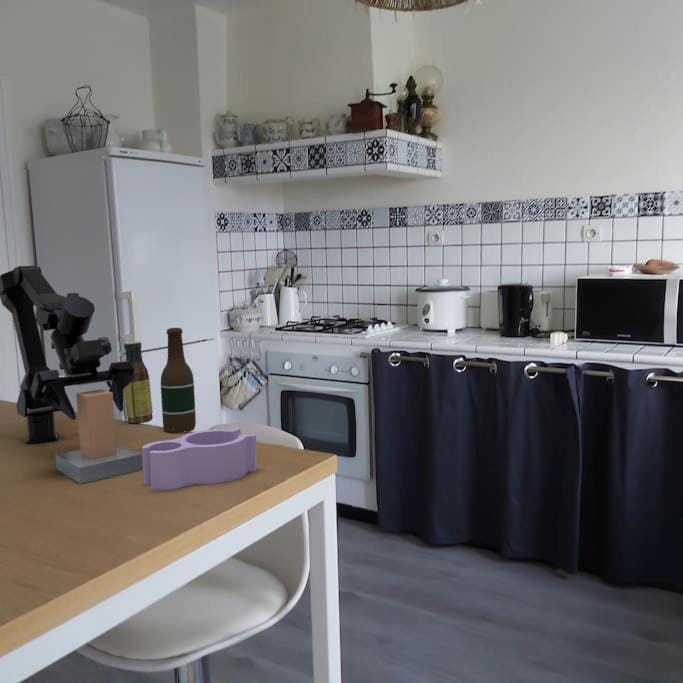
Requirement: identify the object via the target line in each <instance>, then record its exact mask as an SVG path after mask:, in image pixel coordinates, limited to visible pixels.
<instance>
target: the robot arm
mask: <svg viewBox="0 0 683 683" xmlns="http://www.w3.org/2000/svg"><path fill="white" fill-rule="evenodd" d="M0 302H1V305H2V306H3V307H4V308H5V309H6V310H7V311H8V312H10V313H11V315H12V319H13V323H14V324H13V325H14V329H15V333H16V338H17V341H18V345H19V351H20V355H21V359H22V365H23V368H24V376H23V379H22V381H21V382H20V386H19V387H20V391H19V394H18V398H17V401H16V406H15V407H16V411H17V415H18V416H20V417H23V418H26V421H27V422H26V424H27V434H28V435H26V439H25V443H26V444H29V445H30V444H35V443H36V444H38V443H44V442H55V441H58V439H59V432H58V431H57V432H56V421H55V420H56V419H55V412H62V413H63V414H64V415H65V416H66V417H68V418H69V419H71V420H72V421H75V420H76V417H77V416H76V413H75V410H74V407H73V405H72V403H71V400H70V399H69V397H68V395H67V392H66V387H70V386H84V385H90V384H98V383H106V385H107V387H109V389H108V391H109V392H112V393H113V403H114V405H115V407H116V408H117V410H118V411H119V412H121V413H122V412H123V411H124V388H125V387H126V386H128V385H129V383H130V380H131V378H132V376H133V373H134V371H135V369H134V366H133V364H132V363H131V362H130V361H126V360H122V361H115V362H114V361H113V362H111V363H110V365H109V368H108V370H103V371H102V370H101V371H98V368H100V366H101V364H102V362H101V361H100V359H101V358H104V357H105V356H108V355H110V353H111V352H112V344H111V341H110V340H109V338H108V337H107V336H106V337H105V336H102V337H98V339H94V340H93V339H91V340H85V339H84V335H85V334H87V332H88V330H89V328H90V324H91V321H92V319H93V316H94V314H95V313H94V312H95V309H96V307H95V305H94V303H93V302H92V301H90V300H89V299H88V298H85V297H83V296H80V295H79V292H69V293H68V292H67V295H66V296H64V295H62V294H61V295H60V294H58V293H57V292H56V290H55V289H54V288H53V287H52V285H51V284H50V283H49V281H48V280H47V279H46V278H45V276H44V275H43V273H42V269H41V266H36V265H18V266H15V267H14V268H13V269H12V270H9V271H7V272H5V273H1V274H0ZM34 306H35V307H36V310H35V309H34V308H35V307H34ZM39 327H40V328H41V330H43V332H44V331H52V332H51V334H50V340H51V344H50V345H51V349H52V350H55V352H56V355H57V357H58V360H59V365H58V367H59V369H60V370H63V372H64V374H63V375H60V373H59V370H58V369H50V367H48V364H47V362H46V361H47V360H46V356H45V352H44V347H43V344H42V339H41V335H40V330H39Z"/></svg>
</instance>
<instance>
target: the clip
mask: <svg viewBox="0 0 683 683" xmlns="http://www.w3.org/2000/svg"><path fill="white" fill-rule="evenodd" d="M141 452H142V453H141V454H142V464H143V469H142V471H143V485H145V486H147V485H148V486H149V485H150V487H151V491H160V492H162V491H172V490H178V489H181V488H184V487H187V486H191V485H200V484H201V485H209V484H210V485H211V484H221V483H227V482H231V481H235V480H238V479H240V478H242V477H244V476H245V475H247V473H249V472H257V471H258V454H257V453H258V451H257V435H256V434H255V433H253V434H252V433H249V434H241V428H240V427H233V428H232V429H222V428H221V429H206V430H205V429H204V430H198V431H194V432H193V431H192V432H190V433H189V432H188V433H187V434H184V435H182V436H180V437H177V438H174V439H166V440H158V441H154V442H149V443H147V444H145V445H143V446H141ZM248 471H249V472H248Z"/></svg>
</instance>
